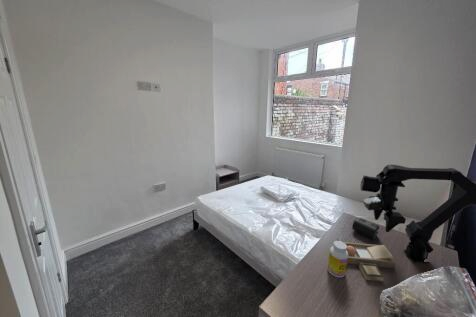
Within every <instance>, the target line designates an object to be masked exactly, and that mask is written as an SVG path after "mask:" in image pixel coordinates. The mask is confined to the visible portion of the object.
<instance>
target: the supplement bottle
mask: <svg viewBox="0 0 476 317" xmlns="http://www.w3.org/2000/svg"><path fill="white" fill-rule="evenodd" d="M343 242H344V241H342V240H341V241H337V240H335V241H333V244H332V245H331V247H330V248H329V253H328V261H327V268H326V269H327V271H328V273H330V275H332V276H333V277H335V278H343V277H344V276H346V272H347V266H348V263H347V262H348V256H349V255H348V252H347V245H346V244H345V243H343Z"/></svg>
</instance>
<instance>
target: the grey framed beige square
mask: <svg viewBox="0 0 476 317" xmlns="http://www.w3.org/2000/svg"><path fill="white" fill-rule="evenodd" d="M358 268H359V270H360V272H361V274H362V275H363V277H364V279H365V280H367V281H375V282H384V274H383V273H382V271H381V270H380V268H379V267H378V266H377V265H376V264H370V263H360V265H358Z"/></svg>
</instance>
